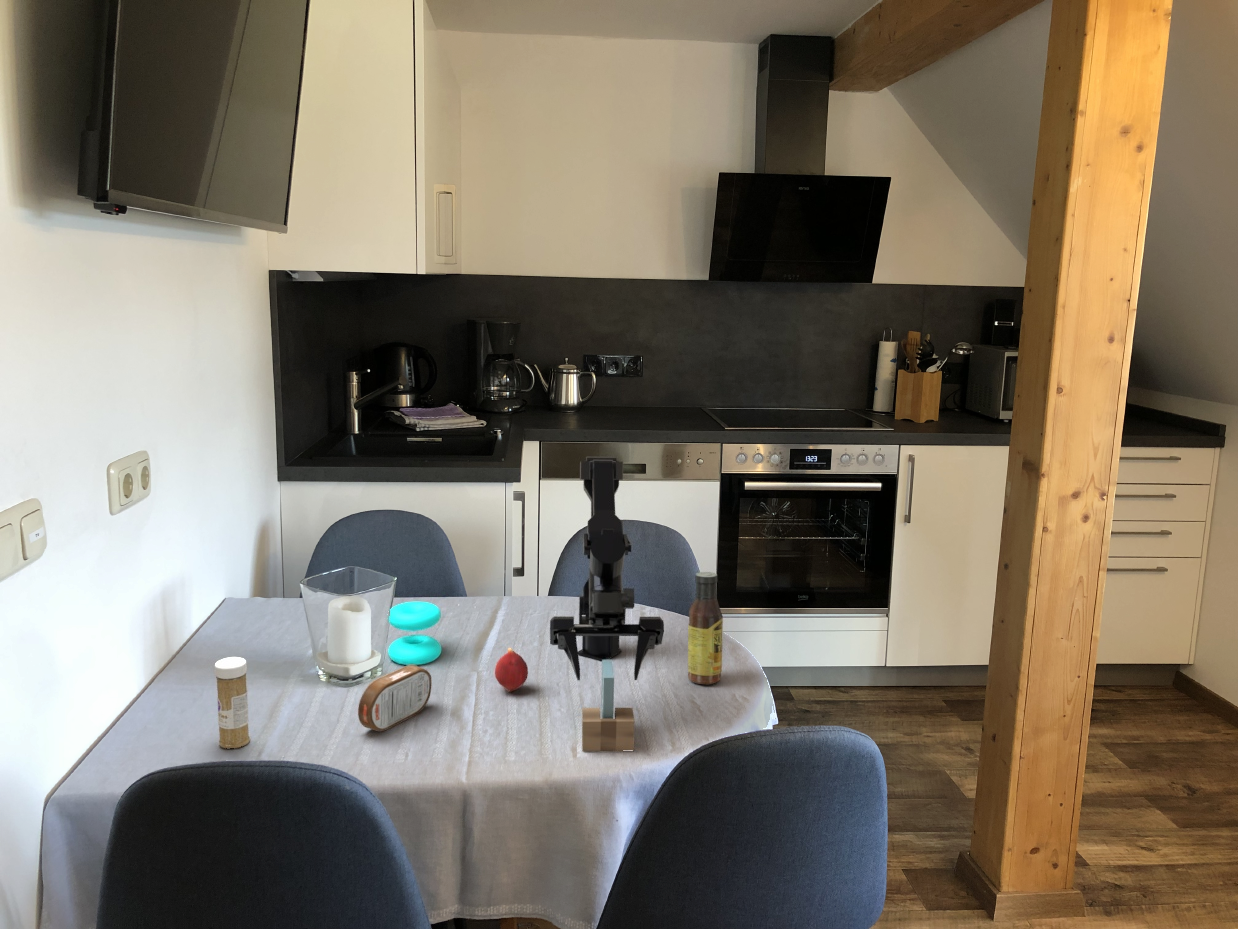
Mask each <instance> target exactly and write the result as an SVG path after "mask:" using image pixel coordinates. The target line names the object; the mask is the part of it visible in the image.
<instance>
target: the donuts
mask: <svg viewBox="0 0 1238 929" xmlns="http://www.w3.org/2000/svg"><path fill="white" fill-rule="evenodd" d="M389 610H390V616H389V621H388V622H389V625H391V626H393V627H394V628H395V629H398V630H400V631H406V632H418V631H424V630H427V629H430V628H432V627H434V626H435V625H437V624H438V623H439V621H440V620H441V617H442V616H441V615H442V613H441V609H440V608H439V607H438V606H437V605H436V604H433V603H431V602H426V601H407V602H402V603H399V604H397V605H394V606H393V607H391V608H390V609H389ZM387 652H388V657H389V658H390V660H391V661H393V662H394V663H396V664H399V665H405V666H407V665H411V664H413V665H417V666H420V665H425V664H429V663H431V662H433V661H435V660H437V659H438V658H439V656H440V655H441V653H442V646H441V643H440V642H439V641H438V640H437V639H436V638H434V637H432V636H430V635H424V634H408V635H405V636H401V637H399V638H397V639H394V640H393V642H392V643H391V644H389V647H388V650H387Z"/></svg>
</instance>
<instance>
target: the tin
mask: <svg viewBox="0 0 1238 929" xmlns="http://www.w3.org/2000/svg"><path fill="white" fill-rule="evenodd" d="M432 684H433V683H432V675H431V674H430V672H429V671H428V670H427V669H425V668H422V667H421V666H419V665H413V664H411V665H405V666H403V667H400V668H399V669H396V670H393V671H392V672H390V673H387V674H385V675H382V676H380V677H378V678H376V679H375V680H373V681H372V682H370V683H369V684H368V685H367V687H366V688H365V689H364V691H363V693H362V695H361V697H360V699H359V703H358V710H357V716H358V720H359V722H360V724H361V726H363V727H364V728H367V729H371V730H373V731H376V732H384V731H387V730H389V729H390V728H392V727H394V726H396V725H398V724H400V723H402V722H405V721H406V720H408V719H410V718H412V717H415V716H416V715H418V714H419V713H420V712H422V710H424V708H425V707H426V705H427V704H428V702H429V699H430V697H431V693H432Z"/></svg>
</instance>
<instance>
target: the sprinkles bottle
mask: <svg viewBox="0 0 1238 929" xmlns="http://www.w3.org/2000/svg"><path fill="white" fill-rule="evenodd" d="M247 665H248V664H247V660H246V659H245V658H243V657H238V656H230V657H225V658H222V659H221V658H220V659H219V660H217V661H216V662H215V664H214V675H215V678H216V688H217V689H216V690H217V696H216V697H217V699H216V700H217V717H218V718H217V719H218V721H217V722H218V728H219V729H218V732H219V740H218V744H219V746H220V748H223V749H226V748H227V749H229V750H231V749H230V748H234V749H239V748H242V747H243V746H246V745H248V744H249V742H250V740H251V739H250V736H249V733H250V732H249V704H248V700H249V699H248V688H247V687H248V686H247V671H248V668H247V667H248V666H247ZM241 746H242V747H241Z"/></svg>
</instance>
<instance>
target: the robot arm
mask: <svg viewBox="0 0 1238 929" xmlns="http://www.w3.org/2000/svg"><path fill="white" fill-rule="evenodd" d="M585 458H586V460H584V461H583V460H582V461H580V463H579V480H581V481H582V480H583V481H582V482H583V484H582V485H583V491H584V493H585V494H586V496H587V497H588V499H589V501H590V518H589V520H587V528H586V529H587V530H586V531H587V532H585V533H583V539H582V540H583V541H582V544H583V545H582V547H583V548H582V551H583V553H582V554H583V555H584V556H587V560H589V567H588V578H587V580H586V582H585V583H584V585H583V588H582V595H579V596H578V600H579V602H578V623H575V617H574V616H559V615H558V616H552V618H551V619H550V620H549V621H550V622H549V644H550V645H552V646H557V649H558V650H563V651H564V653H565V654H566V657H567V658H568V660H569V662H570V664H571V666H572V669H573V672H574V676H575V677H576V680H577V681H580V680H581V667H580V657H579V656H582V657H586V658H587V657H588V658H591V659H594V660H599V661H602V660H610V659H611V658H613V657H614V656H617V655H618V654H620V653H622V651H623V650H622V648H620V637H637V642H636V649H635V658H634V659H635V660H634V670H633V680H634V681H637V680H638V677H639V674H640V670H641V668H642V664H643V661H644V659H645V657H646V655H647V652H648V651H649V650H654V649H655V646H659V645H662V642H663V637H664V632H665V626H664V625H665V621H664V620H663V619H662V617H661V616H639V619H638V623H637V624H635V623H633V624H632V623H626V610H629V609H632V610H633V609H634V608H635V588H627V587H626V588H623V571H624V566H625V556H629V552H630V553H632V542H631V540H630V539H629V538H628V534H627V533H624V528H623V521H622V519H620V518H619V517H618V516H617V514H616V501H615V498H616V497H615V496H616V493H617V492H618V490H619V487H620V481H623V480H624V461H619V460H617V456H590V455H589V456H587V455H586V457H585ZM577 637H581V638H582V640H581V641H582V642H581V643H582V644H581V646H582V648H581V649H578V643H577V642H578V641H577Z"/></svg>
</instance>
